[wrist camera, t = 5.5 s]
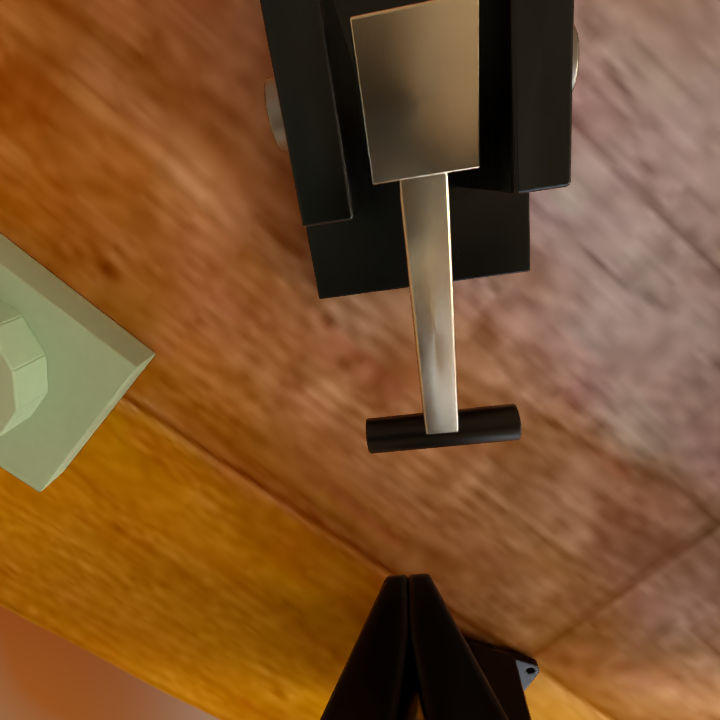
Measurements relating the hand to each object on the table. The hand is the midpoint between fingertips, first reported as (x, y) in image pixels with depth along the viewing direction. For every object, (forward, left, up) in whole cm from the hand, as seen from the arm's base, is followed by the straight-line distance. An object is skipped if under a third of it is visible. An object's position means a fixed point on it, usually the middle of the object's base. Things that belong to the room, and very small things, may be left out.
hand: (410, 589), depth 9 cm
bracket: (+9, +3, -12) cm, 15 cm away
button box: (-5, +17, -12) cm, 21 cm away
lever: (+5, +1, -6) cm, 8 cm away
